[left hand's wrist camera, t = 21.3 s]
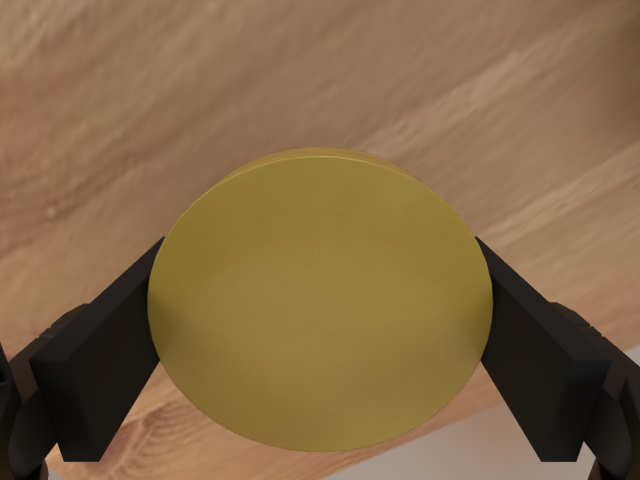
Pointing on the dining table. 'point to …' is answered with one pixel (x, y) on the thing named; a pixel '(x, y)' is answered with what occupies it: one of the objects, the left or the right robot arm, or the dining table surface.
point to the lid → (320, 301)
